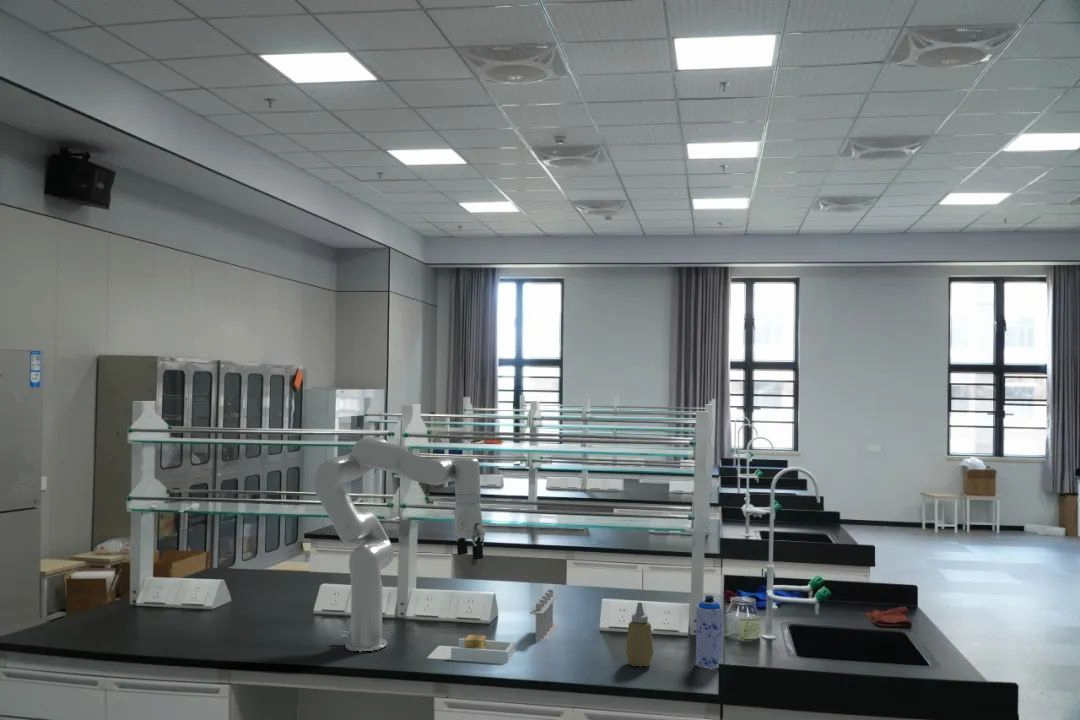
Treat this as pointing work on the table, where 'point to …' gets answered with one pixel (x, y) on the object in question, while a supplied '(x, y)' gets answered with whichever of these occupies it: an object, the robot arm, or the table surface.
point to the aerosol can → (708, 633)
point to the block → (475, 641)
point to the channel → (477, 652)
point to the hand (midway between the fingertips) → (470, 556)
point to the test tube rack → (545, 616)
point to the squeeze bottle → (639, 639)
